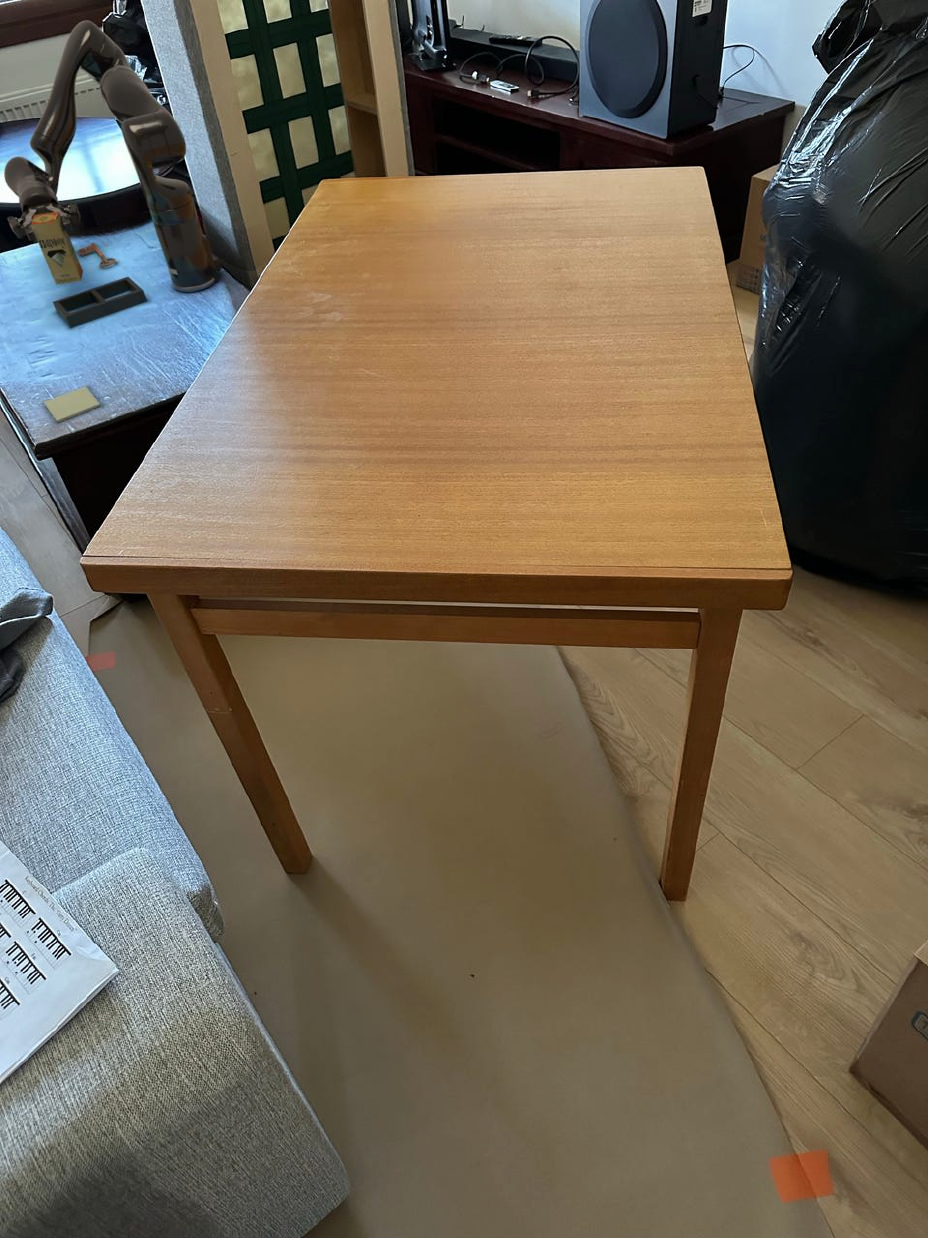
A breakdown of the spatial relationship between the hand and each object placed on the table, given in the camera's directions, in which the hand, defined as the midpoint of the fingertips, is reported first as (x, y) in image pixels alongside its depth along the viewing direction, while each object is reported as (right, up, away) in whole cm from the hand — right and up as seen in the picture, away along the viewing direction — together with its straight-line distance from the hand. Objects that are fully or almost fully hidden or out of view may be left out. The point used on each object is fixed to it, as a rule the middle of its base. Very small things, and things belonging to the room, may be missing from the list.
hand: (50, 232), depth 165 cm
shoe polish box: (0, -5, +9) cm, 10 cm away
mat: (+9, -37, -11) cm, 39 cm away
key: (-5, +10, +34) cm, 36 cm away
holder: (+3, -9, +16) cm, 18 cm away
